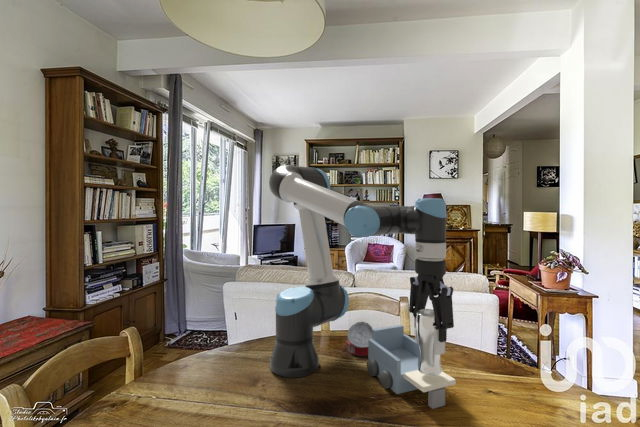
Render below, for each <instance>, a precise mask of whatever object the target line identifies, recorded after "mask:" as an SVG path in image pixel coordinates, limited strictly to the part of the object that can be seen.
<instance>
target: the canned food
mask: <svg viewBox="0 0 640 427" xmlns="http://www.w3.org/2000/svg"><path fill="white" fill-rule="evenodd" d="M372 329H373V327H372V325H370V324H369V323H367V322H365V321H358V322H356V323H354V324H352V325H351V326H350V327H349V328H348V331H347V333H346V334H347V338H346V346H345V347H346V352H348V353H349V354H351V355H355V356H360V357H361V356H362V357H363V356H364V357H365V356H368V341H369V339H372Z"/></svg>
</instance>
